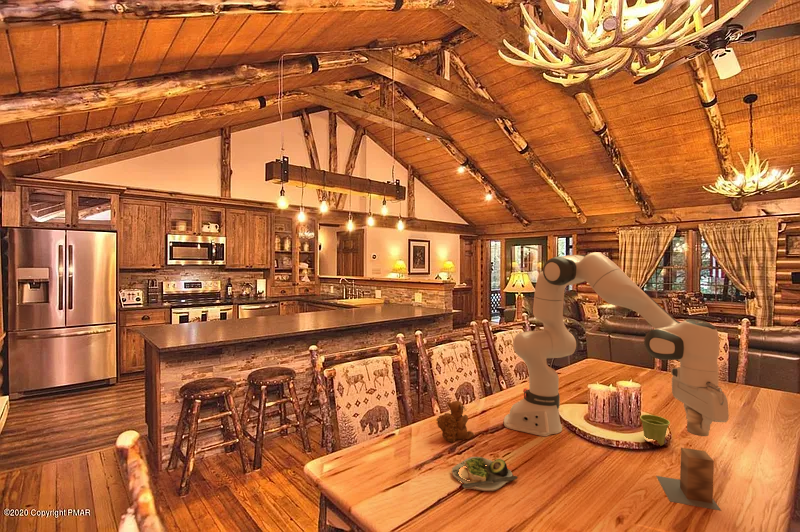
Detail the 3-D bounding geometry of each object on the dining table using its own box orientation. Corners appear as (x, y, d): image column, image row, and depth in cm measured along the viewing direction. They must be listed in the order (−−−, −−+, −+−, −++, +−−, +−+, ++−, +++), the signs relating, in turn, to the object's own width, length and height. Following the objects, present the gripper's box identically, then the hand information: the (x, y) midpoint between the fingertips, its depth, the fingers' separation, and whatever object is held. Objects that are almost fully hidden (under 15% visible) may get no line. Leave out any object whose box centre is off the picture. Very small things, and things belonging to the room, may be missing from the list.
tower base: (687, 498, 113) (687, 478, 113) (680, 487, 119) (680, 467, 118) (712, 503, 111) (713, 482, 111) (704, 491, 117) (704, 471, 116)
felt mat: (669, 502, 112) (669, 501, 112) (655, 476, 125) (655, 475, 125) (721, 512, 108) (721, 510, 108) (701, 484, 121) (701, 483, 121)
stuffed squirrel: (475, 435, 152) (476, 401, 152) (453, 448, 142) (454, 411, 142) (454, 428, 159) (454, 395, 159) (431, 439, 149) (432, 404, 149)
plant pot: (674, 449, 143) (674, 425, 143) (645, 447, 145) (645, 423, 145) (662, 438, 152) (663, 415, 152) (635, 435, 154) (636, 413, 154)
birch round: (686, 433, 114) (687, 412, 114) (686, 427, 118) (687, 407, 118) (709, 438, 111) (709, 416, 111) (708, 431, 115) (708, 411, 115)
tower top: (687, 478, 113) (688, 457, 113) (680, 467, 118) (681, 447, 118) (713, 482, 111) (713, 460, 111) (704, 471, 116) (705, 450, 116)
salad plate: (486, 506, 110) (486, 489, 110) (438, 479, 123) (438, 464, 123) (523, 479, 123) (523, 465, 123) (475, 458, 136) (476, 444, 136)
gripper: (737, 389, 103) (735, 442, 104) (689, 368, 124) (688, 412, 124) (710, 388, 104) (709, 440, 104) (667, 367, 124) (666, 411, 125)
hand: (697, 425), depth 114 cm, fingers closed on birch round, 5 cm apart
